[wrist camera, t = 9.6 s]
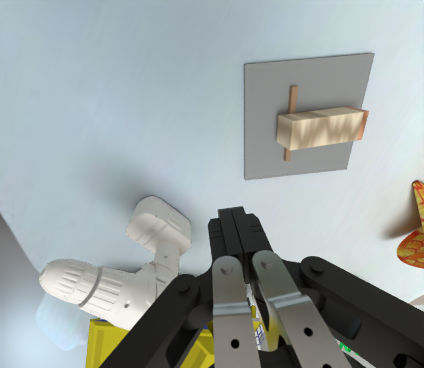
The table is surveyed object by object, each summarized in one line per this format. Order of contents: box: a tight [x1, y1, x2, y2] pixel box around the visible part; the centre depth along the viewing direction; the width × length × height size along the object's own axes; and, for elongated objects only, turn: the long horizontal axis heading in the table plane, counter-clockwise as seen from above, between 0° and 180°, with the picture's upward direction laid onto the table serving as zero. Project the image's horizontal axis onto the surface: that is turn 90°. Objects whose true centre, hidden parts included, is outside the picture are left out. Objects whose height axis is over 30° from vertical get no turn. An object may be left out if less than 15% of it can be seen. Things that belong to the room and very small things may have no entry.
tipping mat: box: [244, 53, 375, 180], centre depth 43 cm, size 22×22×2 cm
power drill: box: [39, 196, 191, 331], centre depth 40 cm, size 8×24×25 cm, turn 43°
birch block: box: [277, 106, 369, 150], centre depth 40 cm, size 5×5×14 cm
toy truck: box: [86, 298, 264, 368], centre depth 58 cm, size 24×40×20 cm, turn 73°
